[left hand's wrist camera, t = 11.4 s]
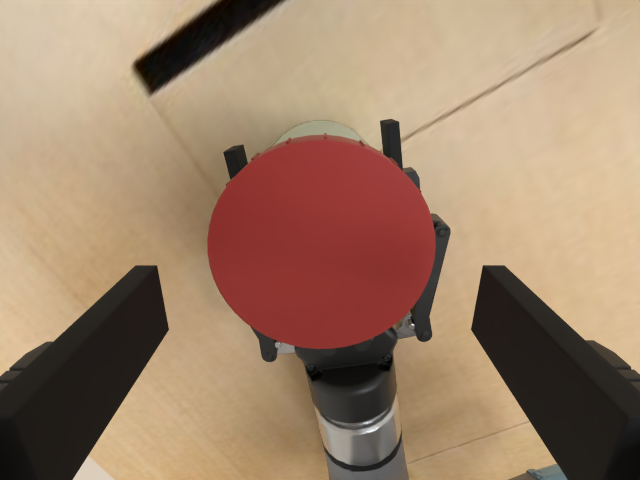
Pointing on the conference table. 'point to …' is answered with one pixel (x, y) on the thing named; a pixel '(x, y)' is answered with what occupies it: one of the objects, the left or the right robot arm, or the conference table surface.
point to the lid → (321, 242)
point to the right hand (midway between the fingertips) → (310, 134)
